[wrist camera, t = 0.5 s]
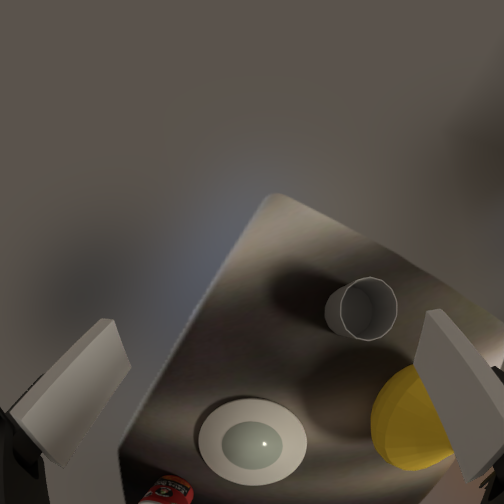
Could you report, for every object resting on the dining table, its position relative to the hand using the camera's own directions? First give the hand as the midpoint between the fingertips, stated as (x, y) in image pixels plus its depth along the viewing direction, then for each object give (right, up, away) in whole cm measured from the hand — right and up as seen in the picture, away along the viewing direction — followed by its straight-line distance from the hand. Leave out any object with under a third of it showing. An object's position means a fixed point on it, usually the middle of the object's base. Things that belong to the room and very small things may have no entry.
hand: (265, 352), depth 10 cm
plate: (0, -28, +28) cm, 40 cm away
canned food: (-15, -41, +25) cm, 51 cm away
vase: (+26, -23, +28) cm, 44 cm away
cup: (+15, -6, +32) cm, 36 cm away
